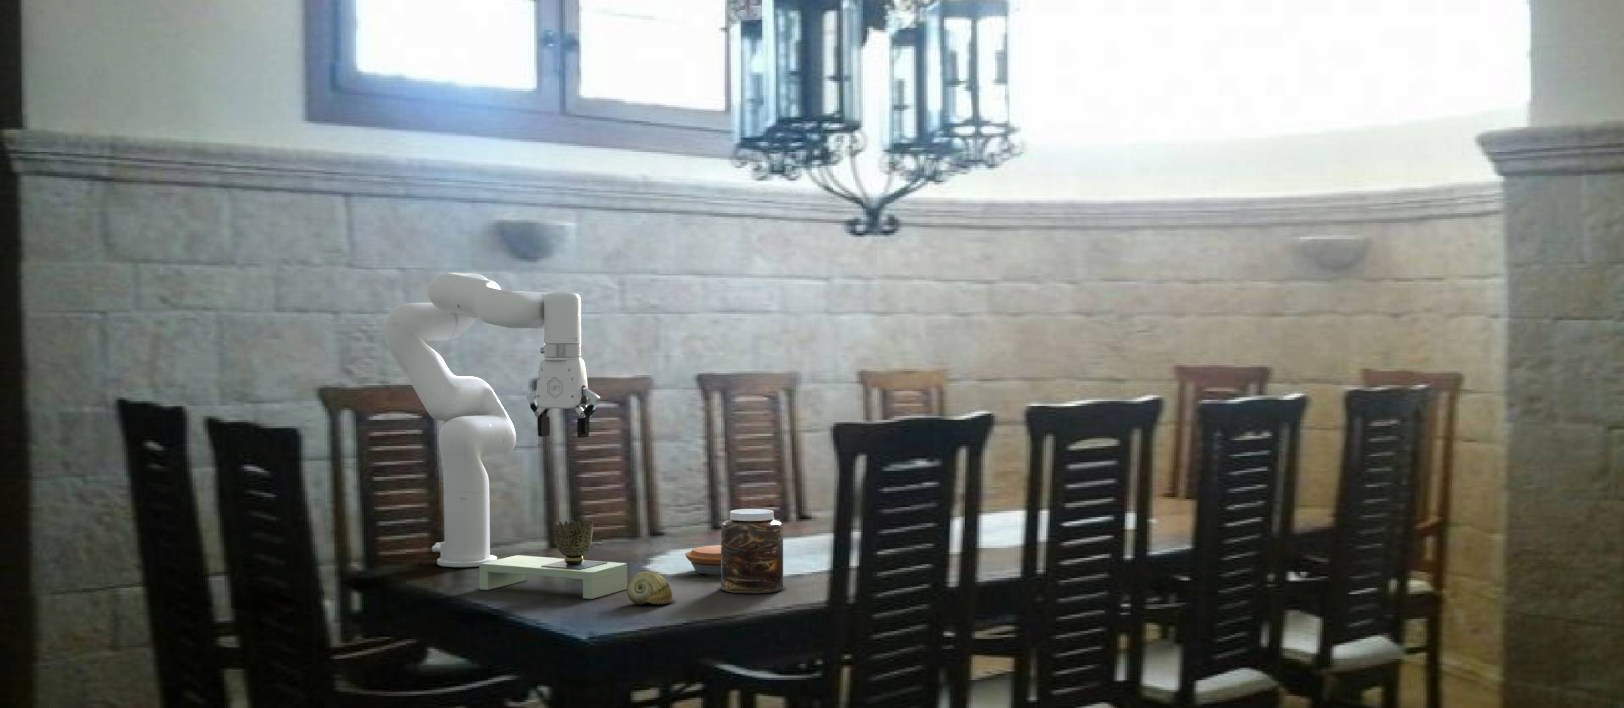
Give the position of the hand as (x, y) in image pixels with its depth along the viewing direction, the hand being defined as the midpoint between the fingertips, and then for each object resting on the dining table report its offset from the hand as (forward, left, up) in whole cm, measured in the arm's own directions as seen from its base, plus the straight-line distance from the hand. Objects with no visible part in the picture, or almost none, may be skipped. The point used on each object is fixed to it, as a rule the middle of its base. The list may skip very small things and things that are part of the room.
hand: (563, 436), depth 310 cm
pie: (+27, +18, -28) cm, 43 cm away
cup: (+13, -15, -23) cm, 31 cm away
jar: (+43, +1, -28) cm, 52 cm away
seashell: (+33, -20, -28) cm, 48 cm away
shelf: (+8, -15, -28) cm, 33 cm away
